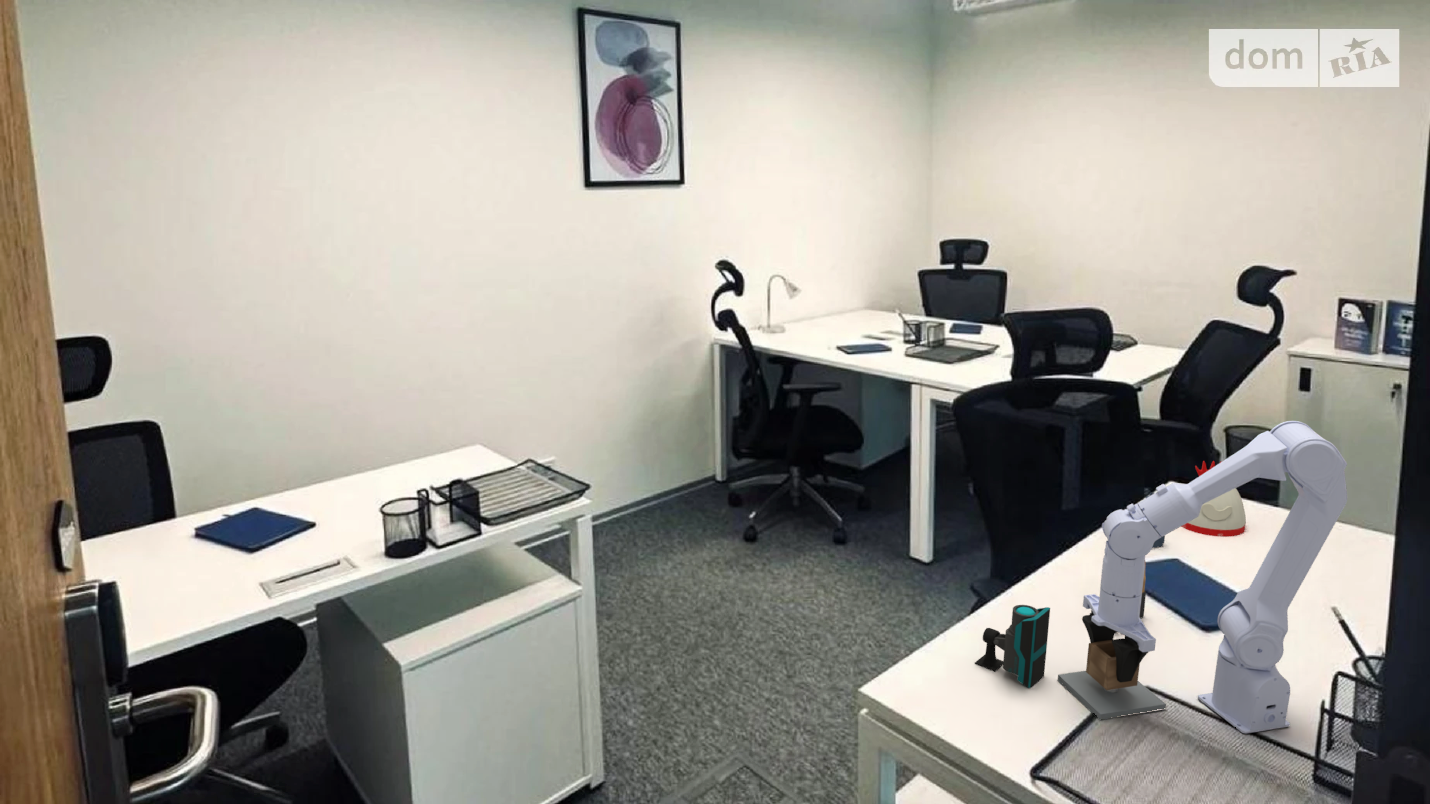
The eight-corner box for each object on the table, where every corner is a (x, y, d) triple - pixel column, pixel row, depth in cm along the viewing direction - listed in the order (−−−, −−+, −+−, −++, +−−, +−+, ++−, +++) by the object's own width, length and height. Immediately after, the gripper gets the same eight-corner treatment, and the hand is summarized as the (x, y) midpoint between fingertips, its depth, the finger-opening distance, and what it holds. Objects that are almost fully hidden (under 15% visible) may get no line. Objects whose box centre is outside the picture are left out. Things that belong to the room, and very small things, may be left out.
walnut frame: (1137, 685, 137) (1140, 656, 136) (1106, 690, 136) (1109, 660, 135) (1115, 667, 142) (1118, 638, 140) (1085, 671, 141) (1088, 643, 139)
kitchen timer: (1170, 510, 212) (1178, 449, 208) (1237, 516, 207) (1245, 454, 204) (1180, 533, 199) (1188, 468, 195) (1250, 540, 195) (1260, 474, 191)
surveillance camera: (992, 587, 149) (1051, 607, 142) (988, 653, 152) (1045, 675, 145) (976, 599, 145) (1035, 620, 138) (971, 666, 148) (1029, 689, 141)
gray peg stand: (1165, 709, 135) (1169, 674, 134) (1099, 720, 133) (1103, 684, 132) (1119, 671, 146) (1122, 637, 144) (1057, 680, 144) (1060, 646, 142)
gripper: (1068, 571, 141) (1061, 649, 145) (1128, 615, 127) (1119, 700, 131) (1109, 566, 142) (1101, 644, 146) (1172, 609, 129) (1161, 693, 132)
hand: (1112, 670), depth 138 cm, fingers closed on walnut frame, 5 cm apart
